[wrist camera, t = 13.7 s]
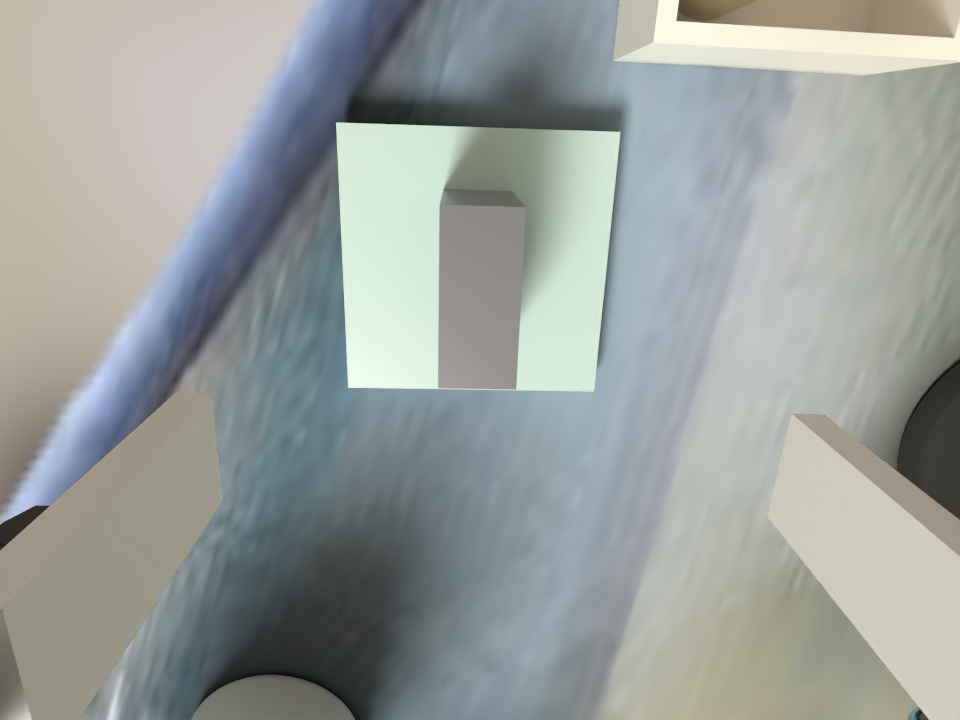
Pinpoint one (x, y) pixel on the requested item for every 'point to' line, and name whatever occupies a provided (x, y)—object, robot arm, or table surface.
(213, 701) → the cylinder vase
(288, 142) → the table surface
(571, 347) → the lid
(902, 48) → the crate
